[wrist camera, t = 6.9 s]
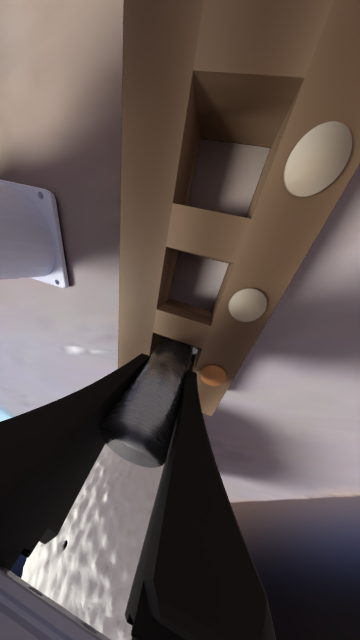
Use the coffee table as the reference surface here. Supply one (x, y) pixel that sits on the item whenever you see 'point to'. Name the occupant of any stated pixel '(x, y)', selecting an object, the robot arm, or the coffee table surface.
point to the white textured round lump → (99, 545)
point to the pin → (149, 407)
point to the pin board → (237, 127)
